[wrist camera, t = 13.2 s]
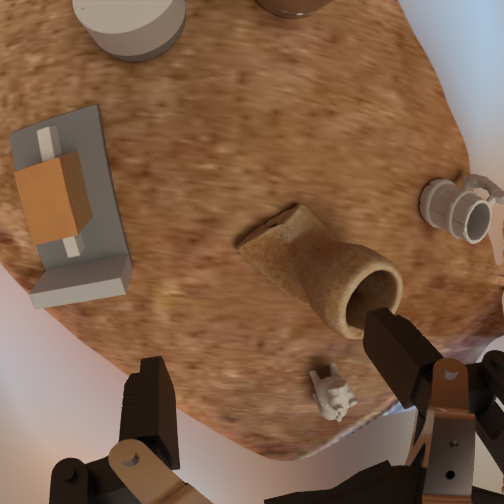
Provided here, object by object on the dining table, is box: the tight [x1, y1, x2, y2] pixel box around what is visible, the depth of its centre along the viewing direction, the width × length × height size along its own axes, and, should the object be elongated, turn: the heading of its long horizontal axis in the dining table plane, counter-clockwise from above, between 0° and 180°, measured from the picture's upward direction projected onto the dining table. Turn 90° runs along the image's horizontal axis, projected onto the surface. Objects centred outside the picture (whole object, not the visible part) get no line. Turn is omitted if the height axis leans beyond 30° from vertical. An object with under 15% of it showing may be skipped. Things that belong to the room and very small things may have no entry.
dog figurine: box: [309, 362, 357, 422], centre depth 49 cm, size 5×13×11 cm, turn 13°
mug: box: [419, 174, 504, 244], centre depth 39 cm, size 8×12×12 cm, turn 130°
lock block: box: [14, 150, 93, 245], centre depth 30 cm, size 8×6×6 cm
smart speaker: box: [73, 0, 186, 62], centre depth 22 cm, size 10×9×14 cm
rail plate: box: [9, 104, 134, 309], centre depth 31 cm, size 20×12×7 cm, turn 6°
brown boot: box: [237, 204, 403, 339], centre depth 36 cm, size 15×12×15 cm
